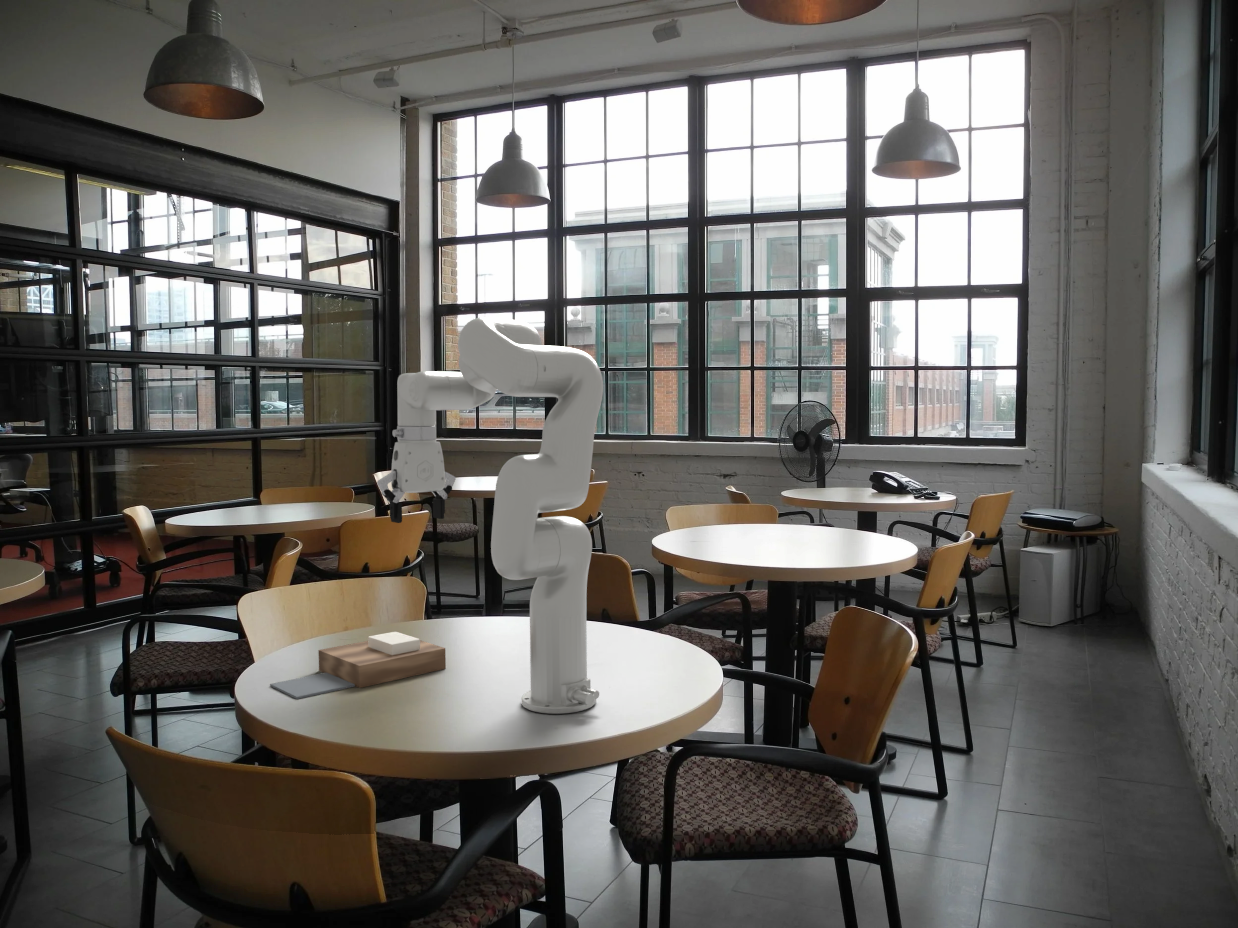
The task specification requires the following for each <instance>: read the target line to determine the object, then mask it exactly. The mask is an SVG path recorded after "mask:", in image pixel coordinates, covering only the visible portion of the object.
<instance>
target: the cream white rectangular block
mask: <svg viewBox="0 0 1238 928" xmlns="http://www.w3.org/2000/svg"><path fill="white" fill-rule="evenodd" d="M420 640H421V639H420V638H418V637H415V636H411V635H408V634H405V633H401V632H398V631H391V632H386V633H380V634H375V635H370V636H368V637H367V641H368V647H370V648H373V649H376V650H379V651H382V652H384V653H387V654H390V655H396V654H401V653H406V652H410V651H415V650H420Z"/></svg>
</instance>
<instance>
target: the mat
mask: <svg viewBox="0 0 1238 928" xmlns="http://www.w3.org/2000/svg"><path fill="white" fill-rule="evenodd" d="M269 687H270V688H274V689H275V690H278V691H280V692H282V693H284V694H286V695H287V696H289V697H292V698H294V699H296V700H300V699H305V698H309V697H314V696H317V695H322V694H327V693H330V692H335V691H339V690H346V689H349V688H354V687H356V686H355V684H353V683H351V682H348V681H346V680H343V679H341V678H339V677H336V676H334V675H331V674H329V673H327V672H326V673H323V672H321V673H317V674H311V675H307V676H302V677H298V678H293V679H287V680H283V681H279V682H278V681H277V682H273V683H270V684H269Z"/></svg>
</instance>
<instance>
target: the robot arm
mask: <svg viewBox="0 0 1238 928" xmlns="http://www.w3.org/2000/svg"><path fill="white" fill-rule="evenodd" d="M457 340H458V342H457V348H458V349H457V350H458V353H459V356H458V368H459V371H447V370H446V371H445V370H437V371H435V370H423V371H418V372H407V373H401V374H399V375H398V377H397V384H396V385H397V388H396V389H397V390H396V391H397V426H396V429H393V430H392V436H393V437H394V438H395V437H396V438H397V441H396V442H394V446H393V453H392V459H391V470H390V472H389V473H388V474H386V475H384V476H383V477H382V478H380V479H378V480H377V486H378V489H379V490H380V491H381V492H380V493H381V495H382V496H383V497H384V498H385V499H386V501H387V502H389V517H390V522H392V523H394V524H395V523H396V524H401V523H402V522H403V505H402V502H400V500H401V499H402V497H403V496H404V495H405V494H410V493H411V494H415V493H428V492H431V493H432V494H433V495H434V497H435V498H433V499H432V517H433V518H434V519H439V520H444V518H445V513H446V507H445V506H446V502H445V501H446V500H447V499H448V495H449V494H450V493H451V492H452V490H453V486H454V484H455V482H456V476H454V475H453V474H450V473H449V472H447V471H445V462H444V461H445V460H444V455H443V449H442V445H441V442H440V441H437V411H467V410H468V411H469V410H472V409H474V408H477V407H480V406H481V405H484V404H485V403H486V402H488V401H490V400H492V399H493V397H495V394H496V393H497V391H499V392H501V393H502V394H504V395H506V396H510V397H517V398H518V397H519V398H524V397H525V398H557V402H556V403H555V404H554V406H553V407H552V408H551V410H550V411H549V413H548V415H547V416H546V419H545V421H544V424H543V427H542V435H541V437H542V438H541V445H540V449H539V452H538V453H534V454H533V453H531V454H530V453H529V454H520V455H515V456H513V457H512V458H510V459H508V460H507V461H506V462H505V463H504V464H503V466H502V467H501V469H500V471H499V473H498V476H497V479H496V483H495V490H494V491H495V492H494V503H493V504H494V505H493V511H492V512H493V515H492V526H491V538H490V539H491V541H490V548H491V549H490V553H491V555H490V556H491V561H492V564H493V567H494V568H495V570H496V572H497V574H499V575H500V576H501V577H502V578H505V579H507V580H512V581H519V580H526V579H533V578H536V580H535V582H534V583H533V587H532V590H531V593H530V599H529V657H530V658H529V660H530V661H529V665H530V667H529V669H530V675H529V676H530V690H528V691H526V692H525V693H524V694H523V695H522V696H521V705H522V706H523V708H525V709H526V710H529V711H532V712H536V713H540V714H541V713H542V714H553V715H555V714H556V715H559V714H560V715H561V714H571V713H577V712H581V711H585V710H588V709H590V708H592V707H593V706H595V705H596V703H597V700H598V698H599V696H600V692H599V690H596V689H593V688H591V687H592V686H591V678H589V677H588V660H587V658H588V654H587V653H588V652H587V649H588V648H587V644H588V643H587V642H588V641H587V634H588V633H587V590H588V589H587V587H588V577H589V576H588V575H589V569H590V563H591V559H592V552H593V539H592V535H591V533H590V530H589V528H588V527H587V525H586V524H585V523H584V522H582V521H581V520H579V519H578V518H575V517H573V516H567V515H559V516H558V515H555V516H546V517H545V516H544V517H538V515H539V514H541V513H543V514H544V513H551V512H560V511H567V510H572V509H576V508H579V507H580V506H582V504H584V502H585V501H586V499H587V497H588V493H589V490H590V489H589V488H590V479H591V472H592V471H591V470H592V462H593V454H594V453H593V452H594V442H595V438H594V437H595V431H596V425H597V421H598V416H599V414H600V413H599V412H600V410H601V404H602V402H603V401H602V400H603V394H604V381H603V379H604V378H603V375H602V372H601V369H600V367H599V365H598V363H597V362H596V360H595V359H594V358H593V357H592V355H590V354H588V353H587V352H585V350H580V349H579V348H574V347H570V346H563V345H562V346H560V345H542V337H541V335H540V333H539V332H538V330H537V329H536V328H535V327H534V326H533V325H531V324H529V322H525V321H522V320H518V319H509V318H494V317H477V318H473V319H471V320H470V321H468V322H467V323H466V324H464V326H463V327H462V329H461V331H460V333H459V335H458V339H457ZM390 483H391V489H392V490H390V489H389V484H390Z"/></svg>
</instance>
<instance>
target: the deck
mask: <svg viewBox="0 0 1238 928" xmlns="http://www.w3.org/2000/svg"><path fill="white" fill-rule="evenodd" d="M446 663H447V662H446V647H443V646H439V645H436V644H433V643H430V642H428V641H424V640H421V639H420V650H415V651H410V652H406V653H401V654H396V655H390V654H387V653H384V652H382V651H379V650H376V649H373V648H370V647H368V640H365V641H364V640H363V641H360V642H359V641H358V642H355V643H350V644H343V645H338V646H334V647H333V646H332V647H327V648H322V649H318V671H319V672H321V673H326V672H327V673H329V674H331V675H334V676H336V677H339V678H341V679H343V680H346V681H348V682H351V683H353V684H355V687H357V688H360V689H362V688H366V687H370V686H375V685H378V684H383V683H388V682H392V681H396V680H403V679H406V678H411V677H414V676H419V675H424V674H428V673H432V672H437V671H442V670H446V666H447V665H446Z"/></svg>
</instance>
